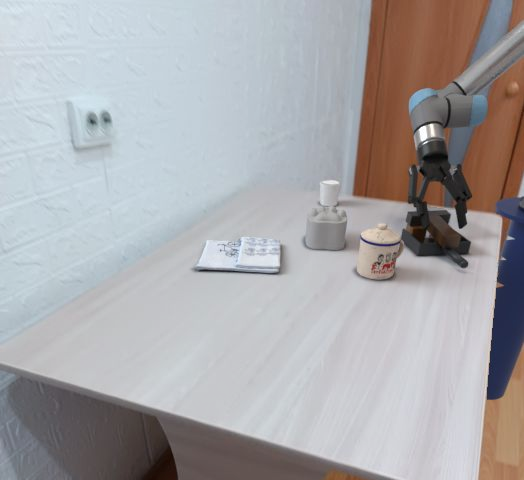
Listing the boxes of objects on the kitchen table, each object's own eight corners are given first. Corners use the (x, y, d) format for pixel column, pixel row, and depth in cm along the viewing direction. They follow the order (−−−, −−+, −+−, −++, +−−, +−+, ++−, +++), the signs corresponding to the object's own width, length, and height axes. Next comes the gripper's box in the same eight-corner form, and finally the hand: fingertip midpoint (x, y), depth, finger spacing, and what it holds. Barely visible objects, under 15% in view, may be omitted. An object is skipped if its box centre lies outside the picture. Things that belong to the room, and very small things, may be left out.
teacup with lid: (371, 283, 108) (379, 233, 102) (347, 268, 115) (353, 220, 108) (412, 274, 113) (422, 225, 106) (386, 260, 119) (394, 214, 113)
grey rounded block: (305, 248, 125) (308, 216, 120) (304, 231, 136) (307, 200, 131) (345, 250, 124) (349, 217, 120) (341, 233, 135) (345, 202, 130)
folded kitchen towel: (279, 274, 111) (280, 266, 110) (193, 271, 112) (192, 262, 110) (281, 244, 127) (281, 236, 126) (205, 241, 128) (205, 233, 126)
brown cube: (421, 222, 130) (427, 228, 127) (418, 236, 133) (424, 242, 129) (407, 223, 130) (413, 228, 127) (404, 237, 132) (410, 242, 129)
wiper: (446, 209, 130) (474, 236, 118) (443, 219, 132) (471, 246, 119) (407, 211, 128) (432, 238, 116) (405, 221, 130) (429, 248, 118)
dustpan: (400, 240, 132) (402, 228, 130) (447, 238, 133) (450, 226, 132) (436, 274, 113) (440, 261, 111) (490, 271, 115) (494, 258, 113)
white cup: (325, 207, 155) (327, 185, 151) (314, 202, 160) (315, 180, 156) (343, 205, 157) (345, 183, 153) (331, 199, 162) (333, 178, 158)
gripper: (462, 155, 131) (476, 232, 126) (385, 156, 128) (398, 234, 123) (477, 138, 123) (493, 218, 119) (396, 138, 120) (410, 221, 116)
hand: (444, 227), depth 121 cm, fingers open, 9 cm apart
